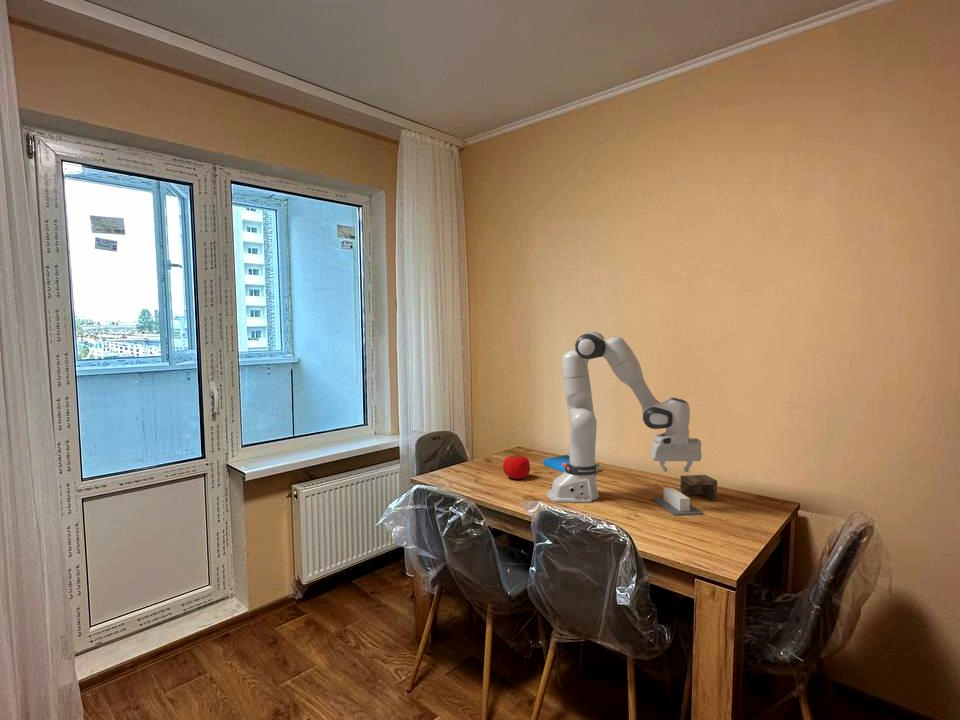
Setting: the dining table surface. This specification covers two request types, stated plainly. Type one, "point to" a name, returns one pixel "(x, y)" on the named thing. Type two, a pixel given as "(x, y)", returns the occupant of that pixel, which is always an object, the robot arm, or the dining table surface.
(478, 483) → the dining table surface
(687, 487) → the brown box
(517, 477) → the tomato
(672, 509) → the mat
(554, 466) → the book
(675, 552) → the dining table surface
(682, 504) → the block
